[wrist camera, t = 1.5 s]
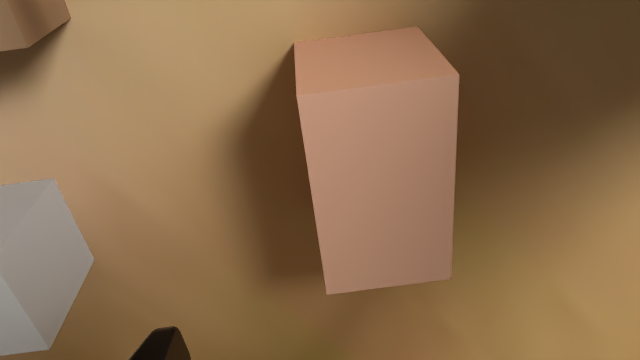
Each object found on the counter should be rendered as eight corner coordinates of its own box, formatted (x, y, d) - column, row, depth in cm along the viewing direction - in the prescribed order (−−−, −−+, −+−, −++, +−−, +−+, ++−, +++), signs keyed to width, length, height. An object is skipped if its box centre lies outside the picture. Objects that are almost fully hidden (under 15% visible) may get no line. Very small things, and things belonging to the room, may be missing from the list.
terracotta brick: (293, 41, 14) (296, 96, 10) (416, 24, 14) (459, 74, 10) (318, 211, 17) (326, 294, 14) (418, 198, 17) (450, 279, 14)
